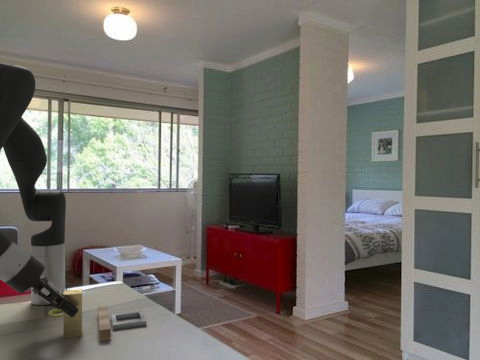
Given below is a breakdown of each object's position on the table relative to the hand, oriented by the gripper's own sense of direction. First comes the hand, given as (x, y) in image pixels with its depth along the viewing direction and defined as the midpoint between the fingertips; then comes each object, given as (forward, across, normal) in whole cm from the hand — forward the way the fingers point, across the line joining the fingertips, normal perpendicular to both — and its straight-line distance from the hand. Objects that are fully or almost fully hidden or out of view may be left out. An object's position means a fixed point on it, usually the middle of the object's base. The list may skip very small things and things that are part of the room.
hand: (71, 308), depth 96 cm
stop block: (+5, 0, +4) cm, 6 cm away
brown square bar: (+10, 0, -1) cm, 10 cm away
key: (+6, +20, +4) cm, 21 cm away
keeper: (+14, 0, -6) cm, 15 cm away
